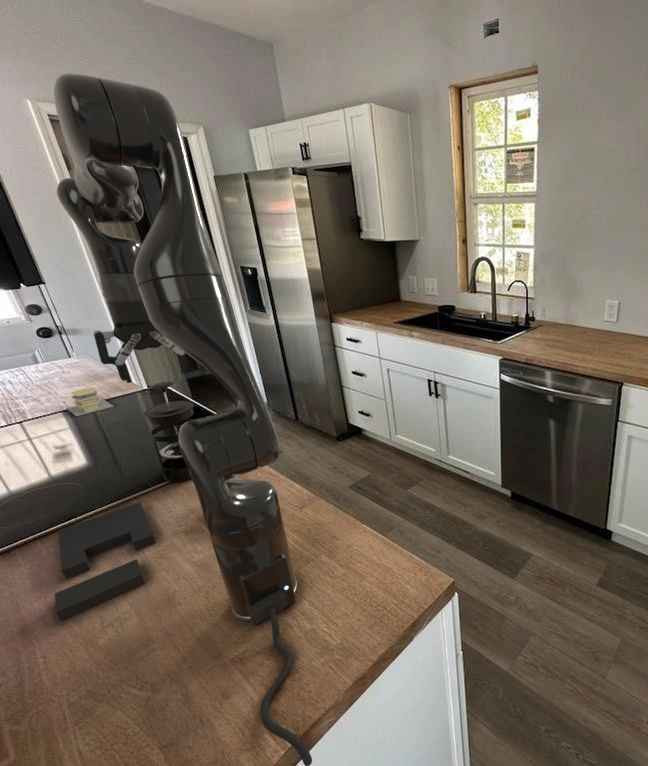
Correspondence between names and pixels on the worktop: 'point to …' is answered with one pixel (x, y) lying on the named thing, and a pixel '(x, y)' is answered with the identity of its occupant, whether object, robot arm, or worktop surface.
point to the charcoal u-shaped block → (102, 537)
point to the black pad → (98, 590)
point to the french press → (170, 433)
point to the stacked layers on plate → (87, 402)
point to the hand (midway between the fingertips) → (157, 376)
